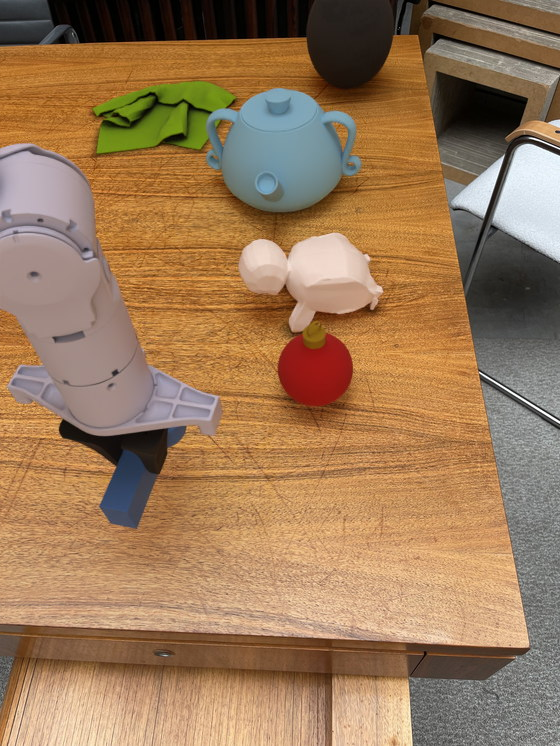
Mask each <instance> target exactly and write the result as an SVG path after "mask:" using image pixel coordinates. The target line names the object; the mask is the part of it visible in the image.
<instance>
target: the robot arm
mask: <svg viewBox="0 0 560 746" xmlns="http://www.w3.org/2000/svg"><path fill="white" fill-rule="evenodd" d="M95 204H96V203H95V198H94V194H93V190H92V186H91V184H90V181H89V179H88V178H87V176H86V175H85V173H84V172H83V171H82V170H81V168H80V167H78V165H77V164H76V163H74V162H73V161H72V160H70V159H69V158H67V157H65V156H63V155H62V154H60V153H57V152H55V151H53V150H49V149H46V148H42V147H41V146H39V145H37V144H34V143H31V142H27V143H25V142H24V143H16V144H15V143H14V144H9V145H6V146H3V147H1V148H0V310H2V311H4V312H6V313H9V314H11V315H13V316H14V317H16V321H17V322H18V324H19V325H20V327H21V329H22V331H23V333H24V335H25V336H26V337H27V340H28V341H29V343H30V344H31V346H32V348H33V350H34V352H35V353H36V355H37V357H38V358H39V361H41V364H42V365H40V364H39V365H30V364H19V365H18V366H17V368H16V369H15V371H14V373H13V375H12V377H11V378H10V380H9V382H8V383H7V385H6V388H7V390H8V391H9V392H10V394H11V396H12V397H13V398H14V400H15V401H16V403H17V404H18V403H19V404H23V405H30V404H32V402H35V403H37V404H38V405H39V406H42V407H43V408H45V409H46V410H48V411H49V412H51V413H53V414H54V415H56V416H58V417H60V418H61V421H60V424H59V425H58V433H59V435H60V437H61V438H62V439H64V440H68V441H71V442H75V443H77V444H79V445H83V446H85V447H87V448H89V449H91V450H92V451H94V452H96V453H97V454H99V455H100V456H102V457H103V458H104V459H105V460H107V461H108V462H109V463H111V464H112V465H114V466H115V467H116V466H117V464H118V462H119V459H120V457H121V455H122V452H123V450H128V451H131V452H133V453H134V454H135V455H137V456H138V457H139V458H140V460H141V461H142V463H143V465H144V466H145V468H146V469H147V470H148V471H149V472H150V473H152V474H158V475H161V472H162V470H163V468H164V464H165V462H166V459H167V457H168V454H169V451H168V450H167V449H168V448H167V436H168V429H169V428H171V427H178V426H197V427H198V429H199V433H200V434H201V435H206V436H211V437H215V436H216V434H217V431H218V429H219V426H220V423H221V419H222V416H223V414H224V410H223V407H222V402H221V398H220V395H217V394H212V393H208V392H204V391H201V390H199V389H197V388H194V387H192V386H191V385H189V384H187V383H185V382H183V381H181V380H179V379H177V378H175V377H174V376H172V375H170V374H168V373H166V372H164V371H162V370H160V369H158V368H157V367H155V366H153V365H151V364H148V362H147V353H146V350H145V349H144V347H142V346H141V343H140V340H139V337H138V334H137V332H136V329H135V326H134V324H133V321H132V318H131V315H130V313H129V310H128V307H127V304H126V301H125V299H124V297H123V294H122V291H121V288H120V286H119V283H118V281H117V278H116V277H115V275H114V273H113V271H112V270H111V266H110V263H109V261H108V260H107V257H106V256H105V253H104V250H103V247H102V245H101V242H100V240H99V238H98V237H97V223H96V222H97V221H96V205H95Z"/></svg>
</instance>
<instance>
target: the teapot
mask: <svg viewBox="0 0 560 746" xmlns="http://www.w3.org/2000/svg"><path fill="white" fill-rule="evenodd" d="M217 120H221V121H228V122H232V123H231V125H230V127H229V130H228V132H227V134H226V136H225V140H224V144H223V142H222V141H221V138H220V137H219V134H218V131H217V128H215V121H217ZM333 123H337V124H340V125H341V126H344V127H345V128H346V129H347V139H346V142H345V146H344V148H343V146H342V142H341V139H340V137H339V134H338V132H337V130H336V127H335V126H334V124H333ZM206 131H207V135H208V138H209V139H208V141H209V143H210V145H211V148H210V149H209V150H208V151H207V153H206V155H205V162H206V164H207V166H208V167H210V168H211V169H213V170H216V171H221V174H222V179H223V182H224V184H225V187H226V188H227V189H228V190H229V192H230V193H231V194H232V195H233V196H235V197H236V198H237V199H238V200H239V201H241V202H243V203H245V204H246V205H248V206H250V207H252V208H254V209H256V210H259V211H260V210H261V211H264V212H268V213H292V212H298V211H301V210H305V209H307V208H311V207H312V206H314V205H316V204H317V203H319V202H320V201H322V200H323V199H324V198H326V197H327V196H329V194H330V193H331V192H332V191H333V190H334V189H336V187H337V186H338V184H339V183H340V181H341V179H342V177H343V175H344V176H346V177H353V176H355V175H357V174H359V173H360V171H361V170H362V160H361V158H360V157H359V156H357V155H351V153H352V151H353V148H354V146H355V143H356V138H357V125H356V122H355V120H354V119H353V117H352V116H351V115H350V114H348V113H346V112H344V111H339V110H329V111H326V112H325V111H324V110H323V108H322V107H321V105H320V104H319V103H318V102H317V101H316V100H315V99H314V98H313V97H312V96H310V95H308V94H307V93H304V92H302V91H298V90H294V89H287V88H284V87H275V88H271V89H268V90H267V91H263V92H260V93H258V94H255V95H253V96H252V97H250V98H249V99H248V100H247V101H245V103H243V104H242V106H241V107H240V108H239V110H238V111H236V110H234V109H231V108H227V107H226V108H223V109H218V110H216V111H214V112H213V113H212V114H211V115H210V116H209V117H208V119H207V122H206ZM216 157H217V158H216ZM349 163H351V164H353V165H350V164H349Z"/></svg>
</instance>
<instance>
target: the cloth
mask: <svg viewBox="0 0 560 746" xmlns="http://www.w3.org/2000/svg"><path fill="white" fill-rule="evenodd" d="M236 100H237V96H235V95H234V94H232V93H231V92H229V91H228V90H226V89H225V88H224V87H221V86H218V85H216V84H214V83H211V82H207V81H203V80H195V81H194V80H193V81H181V82H179V83H170V84H169V83H162V84H157V85H152V86H147V87H144V88H143V89H140V90H136V91H131V92H129V93H127V94H124V95H121V96H116V97H113V98H111V99H109V100H108V101H105V102H104V103H101V104H99V105H97V106H95V107H92V110H93V112H94V114H95V115H96V117H97V118H98V117H99V116H100V115H101V116H102V117H104V118H103V119H102V121H101V122H100V126H99V133H98V139H97V146H96V155H101V154H109V153H110V154H111V153H117V152H125V151H126V152H127V151H133V150H141V149H149V148H154V147H157V146H158V145H159V144H160V143H161V142H162V143H163V144H167V145H174V146H178V147H181V148H186V149H192V150H197V151H201V150H202V149H203V147H204V146H205V144H206V143H207V142H208V141H209V138H208V135H207V131H206V122H207V119H208V117H209V116H210V115H211V114H212V113H213V112H214V111H216V110H218V109H223V108H227V107H229V106H230V105H231V104H232V103H233V102H235V101H236ZM221 122H222V120H217V121H215V128H216V129H217V128H218V126H219V124H220V123H221Z"/></svg>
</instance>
